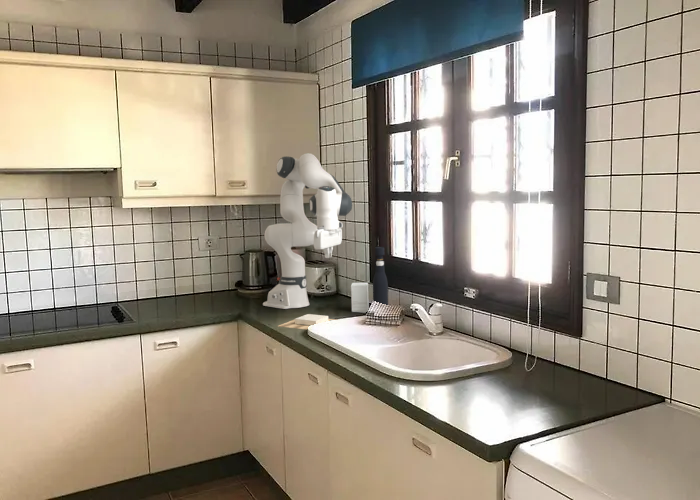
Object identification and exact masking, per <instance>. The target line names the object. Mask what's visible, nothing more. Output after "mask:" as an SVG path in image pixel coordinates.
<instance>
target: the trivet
mask: <svg viewBox="0 0 700 500" xmlns="http://www.w3.org/2000/svg"><path fill="white" fill-rule="evenodd" d="M330 320H337V319H335V318H334V319H333V318H328V321H330ZM278 327H281V328H290V329H298V330H299V329H300V330H307V329H308V327H309V325H300V324H295V319H292V320H289V321H288V322H287V321H286V322H285V323H282V324H279V325H278Z"/></svg>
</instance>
